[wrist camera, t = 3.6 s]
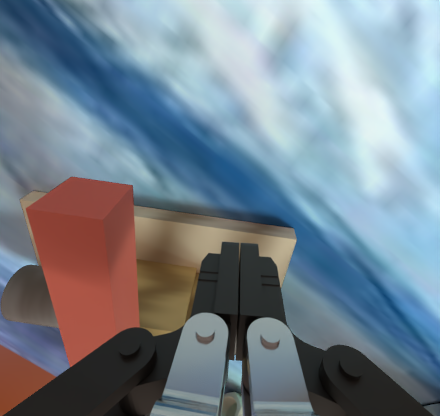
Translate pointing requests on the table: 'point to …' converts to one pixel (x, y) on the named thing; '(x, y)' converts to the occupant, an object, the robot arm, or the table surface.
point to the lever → (88, 260)
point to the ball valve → (232, 404)
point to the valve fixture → (154, 265)
